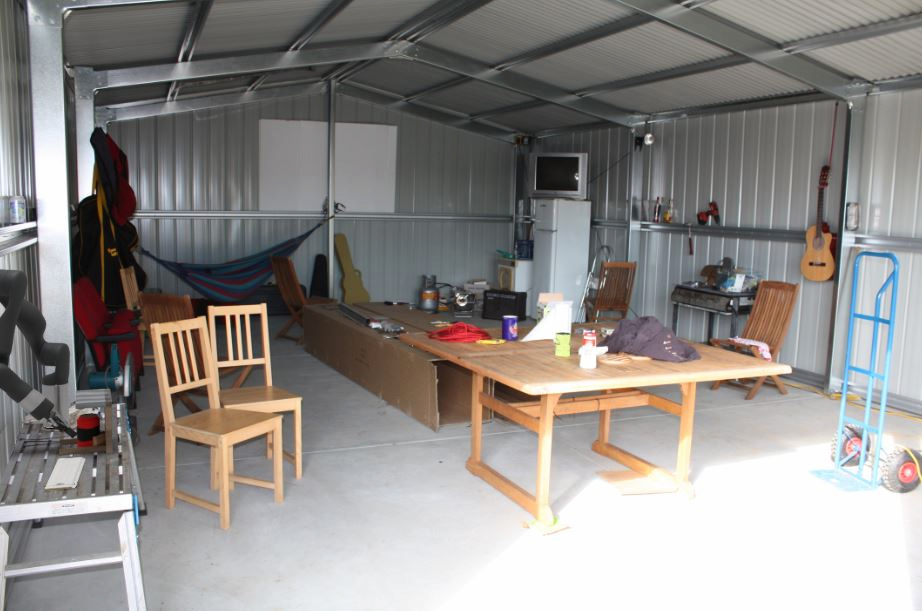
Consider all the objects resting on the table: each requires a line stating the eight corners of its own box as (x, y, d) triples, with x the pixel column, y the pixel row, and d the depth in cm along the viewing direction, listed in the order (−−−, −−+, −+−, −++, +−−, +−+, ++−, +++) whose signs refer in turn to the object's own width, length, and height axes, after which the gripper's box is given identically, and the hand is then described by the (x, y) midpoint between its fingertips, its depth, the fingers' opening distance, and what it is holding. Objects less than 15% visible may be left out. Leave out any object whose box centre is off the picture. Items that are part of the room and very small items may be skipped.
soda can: (93, 443, 288) (92, 411, 286) (104, 447, 284) (104, 415, 282) (73, 447, 282) (72, 415, 280) (84, 452, 277) (83, 419, 276)
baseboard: (90, 460, 271) (58, 462, 267) (90, 452, 270) (57, 454, 267) (80, 490, 243) (44, 493, 239) (80, 481, 242) (44, 484, 239)
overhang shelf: (112, 453, 277) (111, 401, 275) (58, 458, 270) (57, 404, 268) (110, 437, 295) (109, 388, 293) (60, 442, 288) (59, 391, 286)
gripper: (43, 400, 269) (83, 432, 275) (45, 392, 281) (83, 423, 287) (26, 416, 267) (66, 448, 274) (28, 407, 279) (67, 438, 285)
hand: (75, 435), depth 280 cm, fingers closed
